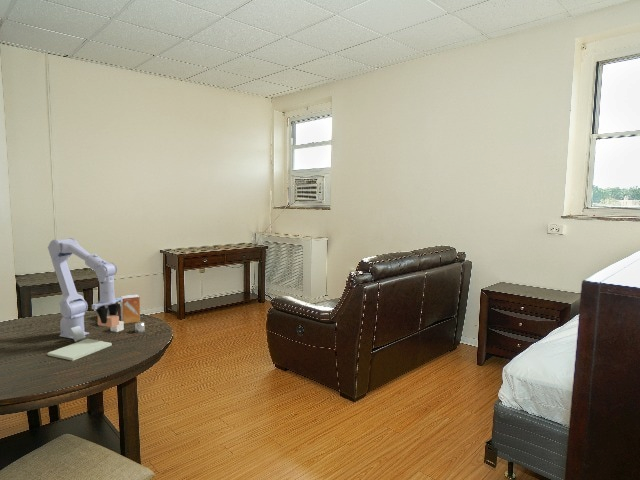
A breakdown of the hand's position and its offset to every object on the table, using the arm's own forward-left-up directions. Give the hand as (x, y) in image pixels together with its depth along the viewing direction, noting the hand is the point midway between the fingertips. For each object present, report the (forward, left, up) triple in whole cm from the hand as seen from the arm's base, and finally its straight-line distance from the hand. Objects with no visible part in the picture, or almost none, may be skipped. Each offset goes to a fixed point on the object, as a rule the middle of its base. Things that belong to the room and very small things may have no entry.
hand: (108, 321), depth 181 cm
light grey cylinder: (+3, +15, -8) cm, 17 cm away
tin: (-25, +25, -9) cm, 36 cm away
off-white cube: (-8, +12, -8) cm, 16 cm away
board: (-1, -13, -8) cm, 16 cm away
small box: (-13, +25, -9) cm, 29 cm away
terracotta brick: (0, 0, -1) cm, 1 cm away
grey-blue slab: (-13, -5, -6) cm, 15 cm away
